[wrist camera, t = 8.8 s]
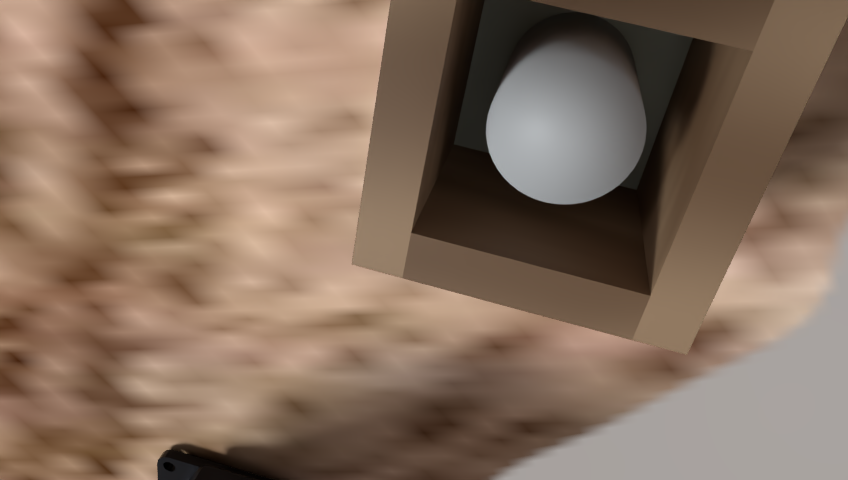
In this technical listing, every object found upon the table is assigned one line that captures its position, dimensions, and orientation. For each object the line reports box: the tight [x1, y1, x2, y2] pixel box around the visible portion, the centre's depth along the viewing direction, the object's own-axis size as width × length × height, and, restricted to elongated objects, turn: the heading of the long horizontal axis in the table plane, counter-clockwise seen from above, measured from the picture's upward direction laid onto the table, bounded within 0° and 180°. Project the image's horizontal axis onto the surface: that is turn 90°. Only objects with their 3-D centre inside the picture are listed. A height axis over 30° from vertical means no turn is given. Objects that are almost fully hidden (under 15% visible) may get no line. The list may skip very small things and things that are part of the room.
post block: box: [454, 0, 693, 204], centre depth 15 cm, size 9×9×5 cm
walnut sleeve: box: [352, 0, 848, 355], centre depth 15 cm, size 7×7×5 cm
